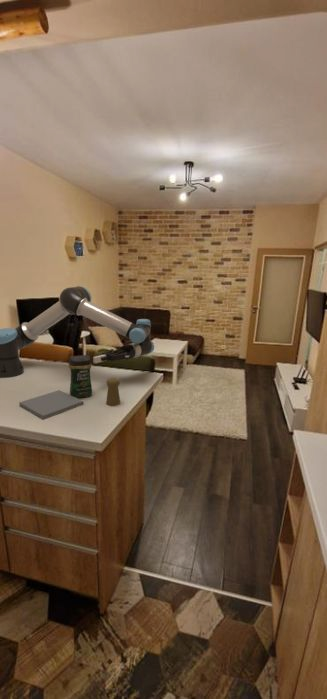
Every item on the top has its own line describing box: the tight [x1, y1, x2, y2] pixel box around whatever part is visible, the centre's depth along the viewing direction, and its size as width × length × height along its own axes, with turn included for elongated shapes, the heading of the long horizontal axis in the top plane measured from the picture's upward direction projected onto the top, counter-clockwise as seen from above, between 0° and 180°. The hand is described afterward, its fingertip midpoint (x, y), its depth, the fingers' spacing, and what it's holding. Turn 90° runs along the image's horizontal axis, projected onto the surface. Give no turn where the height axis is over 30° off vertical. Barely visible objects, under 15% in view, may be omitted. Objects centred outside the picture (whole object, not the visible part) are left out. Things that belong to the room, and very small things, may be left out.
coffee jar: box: [68, 354, 93, 399], centre depth 138 cm, size 10×8×19 cm
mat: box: [18, 389, 85, 420], centre depth 128 cm, size 18×18×2 cm
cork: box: [105, 377, 121, 407], centre depth 131 cm, size 6×6×11 cm
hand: (94, 360), depth 142 cm, fingers closed
